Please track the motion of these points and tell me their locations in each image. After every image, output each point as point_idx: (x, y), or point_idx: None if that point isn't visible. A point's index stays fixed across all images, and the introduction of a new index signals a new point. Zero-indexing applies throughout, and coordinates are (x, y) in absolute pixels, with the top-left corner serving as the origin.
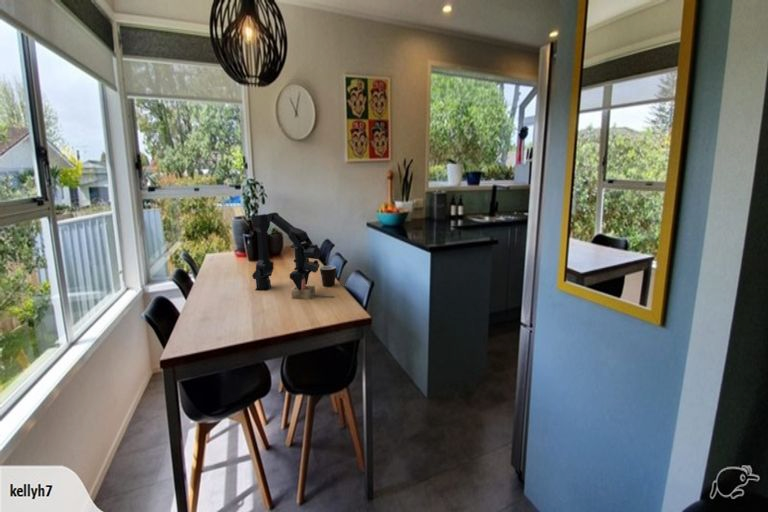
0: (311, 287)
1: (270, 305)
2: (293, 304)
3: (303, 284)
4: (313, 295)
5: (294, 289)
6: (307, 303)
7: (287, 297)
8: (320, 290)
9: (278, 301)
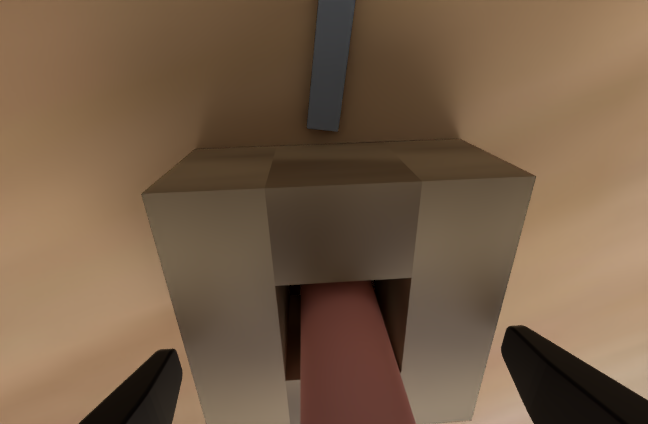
0: (279, 215)
1: None
2: (606, 262)
3: (402, 390)
4: (338, 126)
5: None
6: (621, 112)
7: None
8: (42, 100)
9: (490, 401)
